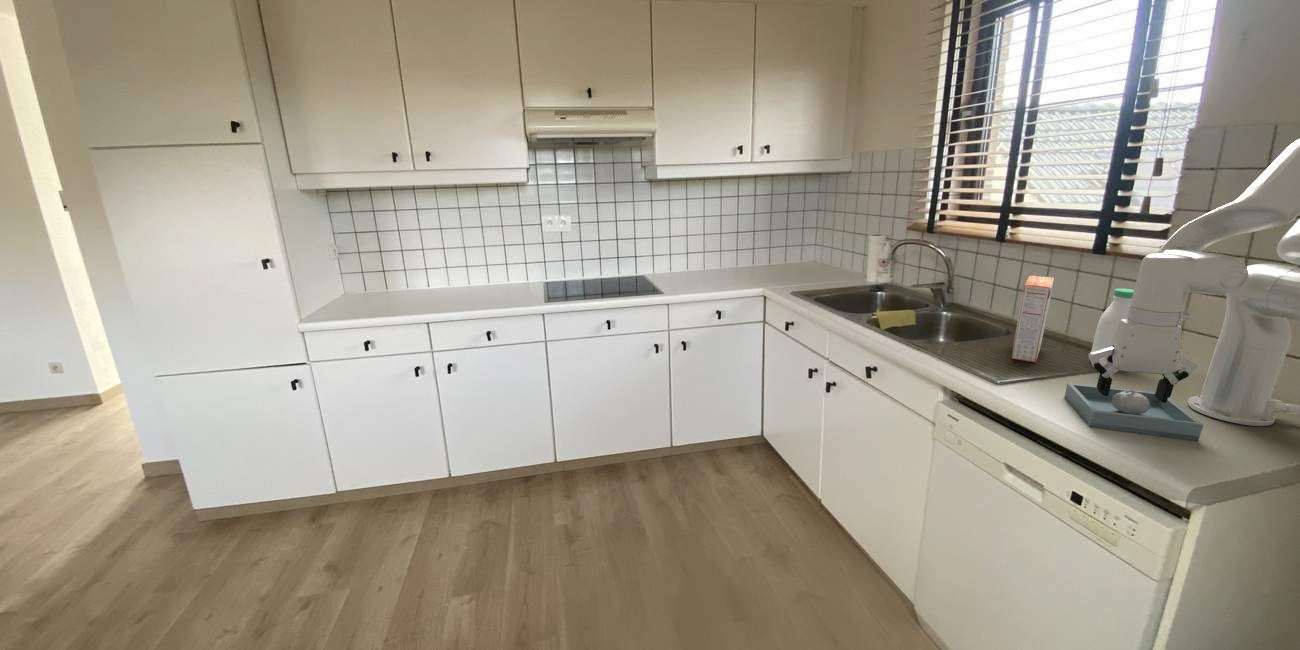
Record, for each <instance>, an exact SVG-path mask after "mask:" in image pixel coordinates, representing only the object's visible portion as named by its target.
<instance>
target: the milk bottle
mask: <svg viewBox="0 0 1300 650" xmlns="http://www.w3.org/2000/svg"><path fill="white" fill-rule="evenodd" d="M1133 293H1134V289H1131V288H1130V289H1129V288H1120V287H1119V288H1115V289H1114V291H1113V296H1112V298H1113V300H1112V302H1111V303H1110V305H1108V307H1107V308H1106V309H1105V311H1104V312H1103V313H1102V314H1101V316H1100V317H1099V320H1098V323H1097V327H1096V331H1095V335H1094V339H1093V343H1092V346H1091V347H1092V348H1091V351H1090V353H1092V352H1095V351H1099V350H1102V349H1105V348H1108V347H1109V344H1110V341H1111V339H1112V336H1113V334H1114V332H1115V330H1116V328H1117V326H1118V324H1119V322H1120V321H1121V319H1127V316H1128V312H1129V308H1130V304H1131V301H1132V297H1133ZM1099 361H1100V364H1101V365H1102V366H1103V365H1105V364H1106V363H1108V362H1107V361H1106V360H1105V357H1103V358H1100V360H1099Z"/></svg>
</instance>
